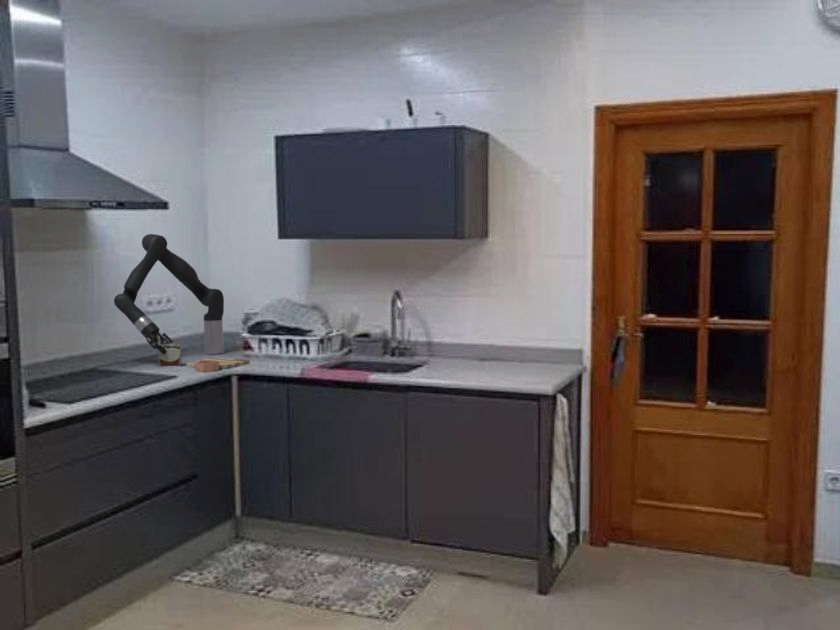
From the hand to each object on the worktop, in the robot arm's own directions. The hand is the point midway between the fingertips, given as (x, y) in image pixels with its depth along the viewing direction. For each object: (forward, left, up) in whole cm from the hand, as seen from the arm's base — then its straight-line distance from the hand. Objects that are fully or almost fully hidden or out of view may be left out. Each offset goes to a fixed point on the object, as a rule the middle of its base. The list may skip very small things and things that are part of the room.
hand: (170, 352), depth 381 cm
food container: (0, +1, -7) cm, 7 cm away
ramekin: (+7, +26, -6) cm, 27 cm away
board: (-8, +21, -6) cm, 23 cm away
